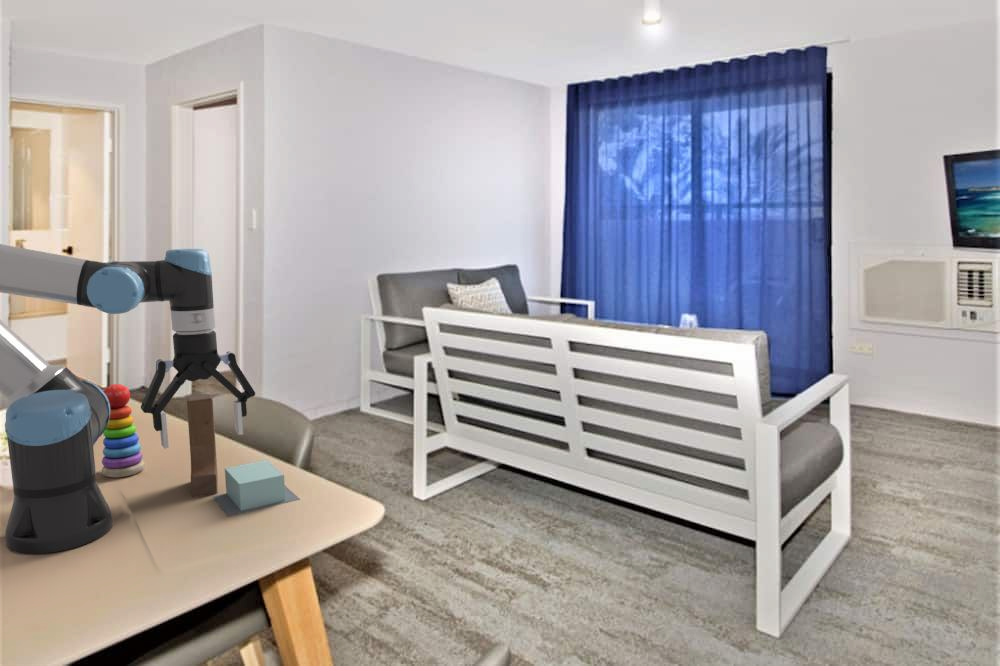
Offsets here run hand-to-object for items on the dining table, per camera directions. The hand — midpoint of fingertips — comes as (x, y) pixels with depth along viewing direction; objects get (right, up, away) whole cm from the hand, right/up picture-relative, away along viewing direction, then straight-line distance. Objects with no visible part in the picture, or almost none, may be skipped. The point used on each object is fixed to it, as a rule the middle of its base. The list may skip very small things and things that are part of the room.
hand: (203, 439), depth 137 cm
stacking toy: (-21, -9, +11) cm, 25 cm away
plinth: (+11, -10, -4) cm, 16 cm away
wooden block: (0, -10, +1) cm, 10 cm away
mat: (+12, -11, -4) cm, 16 cm away
